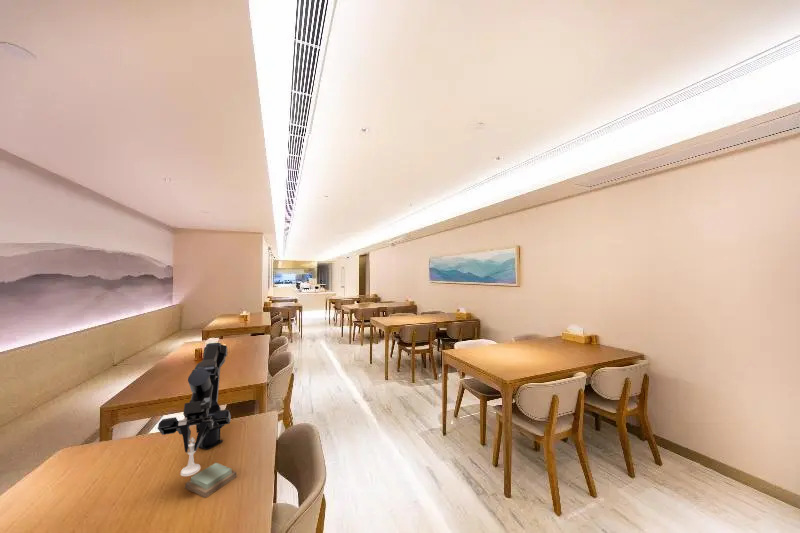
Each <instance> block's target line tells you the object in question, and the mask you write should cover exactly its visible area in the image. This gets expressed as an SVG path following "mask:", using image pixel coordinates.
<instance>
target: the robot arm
mask: <svg viewBox="0 0 800 533" xmlns="http://www.w3.org/2000/svg"><path fill="white" fill-rule="evenodd" d="M202 357H203V358H202V361H200V362H198V363H197V364H196V365H195V367H194V369H192V371H191V372H190V374H189V376H188V378H187V382H188V384H189V387H190V391H191V393H192V394H191V397H190V400H189V402H186V403H184V407H183V416H184V418H185V419H180V420H178V418H177V417H176V416H175V417H167V418H162V419H161V420H160V421H159V422H158V425H157V430H158V431H159V433H160V435H164V436H165V435H171V434H175V433H176V432H177V433H178V434H179V435H181V436H182V439H183V440H182V441H183V447H184V452H185V454H187V453H188V451H189V448H188V444H190V443H191V441H189V440H190V439H191V434H192V430H191V429H190V428H191V426H196V434H197V436H196V439H195V441H194V442H195V447H194V451H196V452H197V450H198V448H201V449H204V450H210V449H211V448H213V447H215V446H218V445H220V444H221V443H222V442H224V440H223V439H221V429H222V428H224V427H225V425H229V424H230V423H231V421H232V420H231V419H232V418H231V417H232V416H231V412H230V410H229V409H222V408H221V406H220V404H219V403H218V400H219V387H220V380H221V379H220V378H221V376H220V375H221V367H223V365H224V364H225V362H226V357H228V347H227V345H224V344H222V343H221V342H211V343H210V342H209V343H206V346H205V347H203V354H202Z"/></svg>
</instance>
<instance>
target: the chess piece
mask: <svg viewBox="0 0 800 533" xmlns="http://www.w3.org/2000/svg"><path fill="white" fill-rule="evenodd" d="M189 441H190V442H189V444H188V452H187V453H186V454H187V455H189V456H188V461H187V465H186V466H184V467H183V468H182V469H181V470H180V476H182V477H190V476H194V475H196V474H197V473H199V472H200V471H201V464H199V463H195V459H194V454H195V453H196V452H197V450H196V451H194V447H195V442H196V439H195V438H194V437H193V436H192V437H190V440H189Z"/></svg>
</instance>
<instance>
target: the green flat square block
mask: <svg viewBox="0 0 800 533" xmlns="http://www.w3.org/2000/svg"><path fill="white" fill-rule="evenodd" d="M237 476H238V475H237V471H234V470H232V468H231V467H228V466H225V465H223V464H221V463H218V462H214V463H213V464H211V465H209V466H207V467H206V468H204V469H202V470H200V471H198V472H197V473H195V474H193V475H191V477H190V480H188V481H187V482H185V483H184V486H185V487H184V489H186V490H187V491H189V492H192V493H194V494H196V495H199V496H200V497H202V498H205V499H206V498H208V497H209V496H210V495H212V494H213V493H215V492H216V491H218V490H220V489H222V488H223V487H224V486H225V485H227V484H229V483H230V482H231V481H232V480H235V479H236V478H238V477H237Z"/></svg>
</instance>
